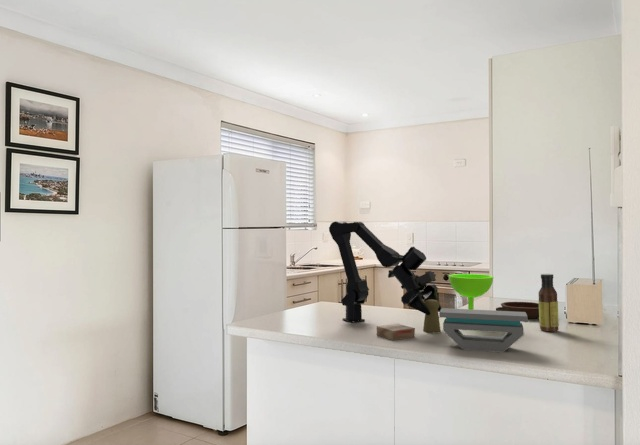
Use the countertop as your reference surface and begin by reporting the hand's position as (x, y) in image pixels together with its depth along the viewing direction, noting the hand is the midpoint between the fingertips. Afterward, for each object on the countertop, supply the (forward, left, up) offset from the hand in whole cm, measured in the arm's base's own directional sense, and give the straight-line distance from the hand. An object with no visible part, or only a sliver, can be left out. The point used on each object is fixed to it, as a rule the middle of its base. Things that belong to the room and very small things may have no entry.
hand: (435, 312), depth 182 cm
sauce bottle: (+19, +35, -7) cm, 41 cm away
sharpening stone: (+25, -4, -7) cm, 26 cm away
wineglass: (-3, +20, -7) cm, 22 cm away
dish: (-4, +51, -7) cm, 52 cm away
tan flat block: (-1, -17, -7) cm, 18 cm away
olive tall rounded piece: (-1, -1, -7) cm, 7 cm away
